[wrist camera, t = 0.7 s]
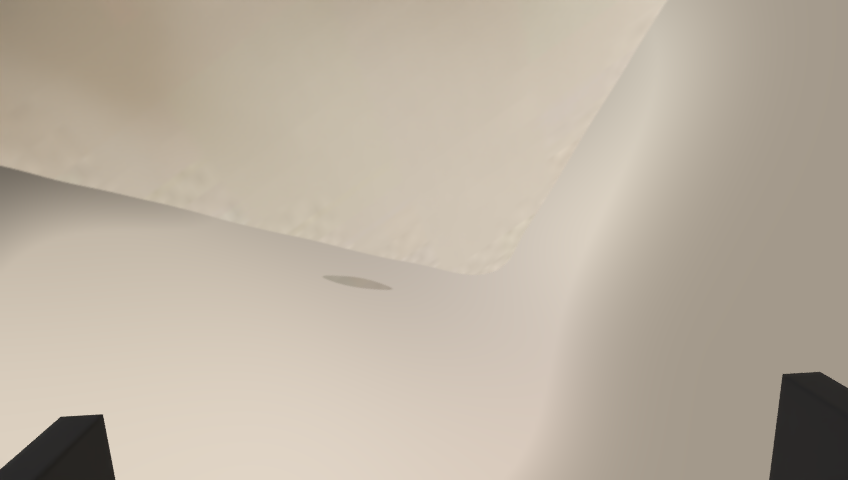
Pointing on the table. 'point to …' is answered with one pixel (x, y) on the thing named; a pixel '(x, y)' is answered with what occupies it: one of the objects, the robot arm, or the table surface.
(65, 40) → the table surface
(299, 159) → the table surface
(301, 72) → the table surface
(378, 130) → the table surface
